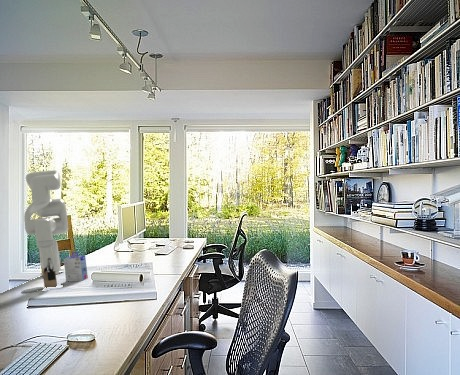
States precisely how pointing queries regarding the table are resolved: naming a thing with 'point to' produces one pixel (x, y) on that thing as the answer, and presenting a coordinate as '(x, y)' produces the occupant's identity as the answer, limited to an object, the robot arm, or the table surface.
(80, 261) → the ink cartridge box
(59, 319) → the table surface
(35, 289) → the slate coaster
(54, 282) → the walnut block
